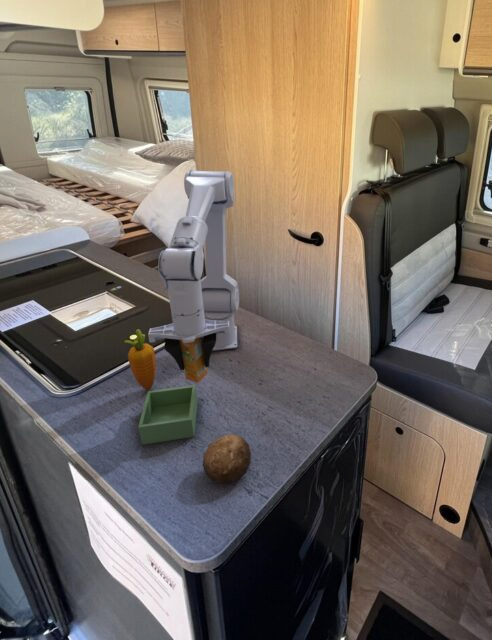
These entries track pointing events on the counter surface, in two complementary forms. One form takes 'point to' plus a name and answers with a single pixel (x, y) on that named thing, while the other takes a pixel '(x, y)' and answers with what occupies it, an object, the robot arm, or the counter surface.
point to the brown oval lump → (227, 459)
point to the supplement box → (194, 360)
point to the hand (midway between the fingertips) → (194, 365)
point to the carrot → (142, 361)
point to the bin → (168, 415)
